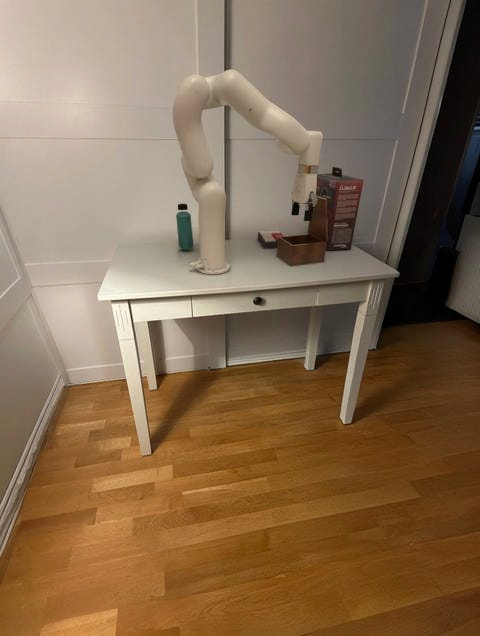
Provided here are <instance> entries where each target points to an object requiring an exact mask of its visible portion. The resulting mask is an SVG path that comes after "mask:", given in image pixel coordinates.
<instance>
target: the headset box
mask: <svg viewBox="0 0 480 636" xmlns="http://www.w3.org/2000/svg"><path fill="white" fill-rule="evenodd" d="M331 169H332V170H331V173H329V172H328V173H317V185H316V195H315V196H319V197H321V196H322V195H325V196H328V197H331V198H333V201H332V203H328V202H327V222H328V241H326V242H327V245H326V251H341V250H351V249H352V245H353V239H354V234H355V228H356V224H357V217H358V212H359V207H360V203H361V198H362V197H361V196H362V192H363V186H364V182H365V180H364V179H362V178H357V177H353V176H349V175H344V174H343V169H342V168H341V167H335V166H332V167H331ZM307 234H311V233H310V228H309V225H308V228H307ZM312 235H313V234H312ZM314 236H315V235H314ZM316 237H317V236H316ZM318 238H319V237H318ZM320 239H321V238H320ZM322 240H323V239H322ZM324 241H325V240H324Z"/></svg>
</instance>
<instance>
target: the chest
mask: <svg viewBox="0 0 480 636" xmlns="http://www.w3.org/2000/svg"><path fill="white" fill-rule="evenodd" d="M326 245H327V242H326V241H324V240H322V239H320V238H318V237H316V236H314V235H312V234H308V233H305V234H294V235H283V237H278V245H277V248H276V257H278V258H279V259H280V260H281V261H283V262H284V263H285V264H287V265H288V266H290V267H295V266H303V265H309V264H316V263H317V264H318V263H324V262H325V258H326V252H327V250H326Z"/></svg>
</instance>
